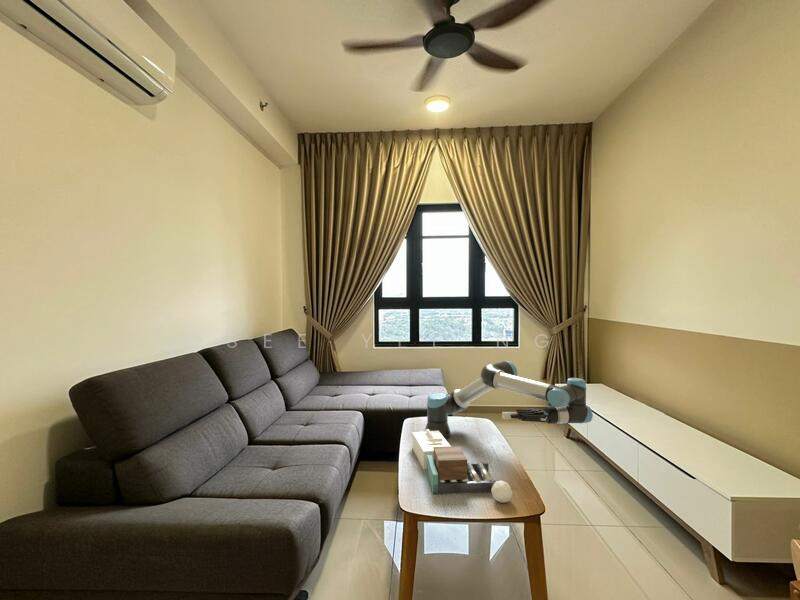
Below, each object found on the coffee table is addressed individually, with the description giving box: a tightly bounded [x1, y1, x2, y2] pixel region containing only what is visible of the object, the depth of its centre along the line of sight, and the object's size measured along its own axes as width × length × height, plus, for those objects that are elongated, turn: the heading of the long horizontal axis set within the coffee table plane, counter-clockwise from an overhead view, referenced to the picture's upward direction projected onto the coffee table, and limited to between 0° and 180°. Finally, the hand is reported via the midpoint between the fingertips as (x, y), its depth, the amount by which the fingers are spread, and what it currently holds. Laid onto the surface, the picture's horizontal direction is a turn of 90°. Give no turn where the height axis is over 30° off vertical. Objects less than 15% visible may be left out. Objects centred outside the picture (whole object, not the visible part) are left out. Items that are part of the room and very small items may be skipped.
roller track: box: [426, 461, 501, 495], centre depth 159 cm, size 19×28×4 cm, turn 93°
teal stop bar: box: [426, 455, 439, 495], centre depth 158 cm, size 19×2×8 cm, turn 3°
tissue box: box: [411, 429, 451, 470], centre depth 184 cm, size 14×25×11 cm, turn 10°
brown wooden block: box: [434, 445, 468, 481], centre depth 158 cm, size 14×12×8 cm
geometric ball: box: [490, 480, 513, 504], centre depth 143 cm, size 8×8×8 cm
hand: (502, 415), depth 160 cm, fingers closed
